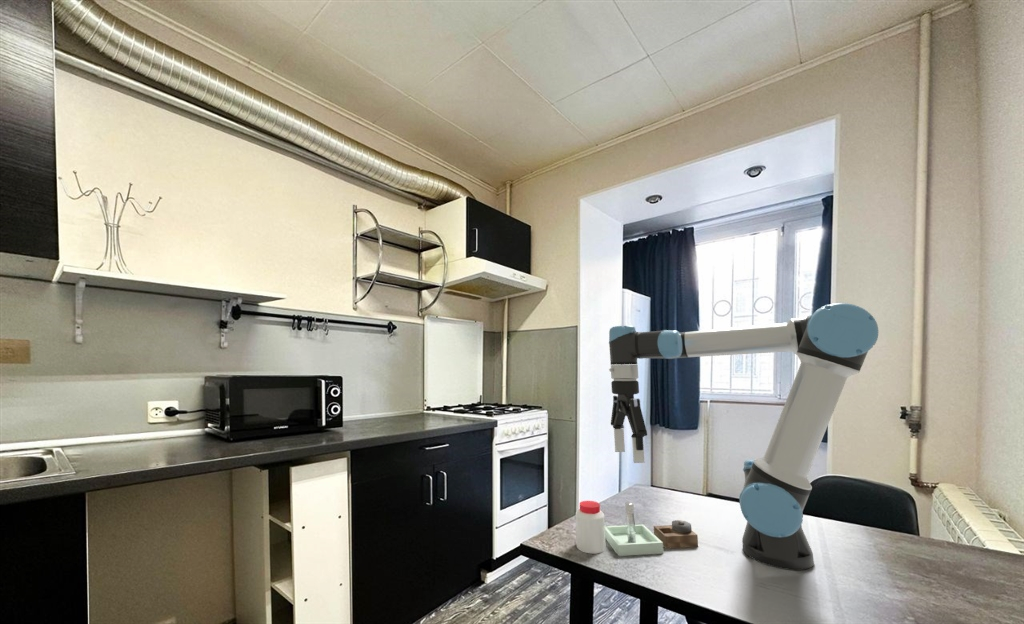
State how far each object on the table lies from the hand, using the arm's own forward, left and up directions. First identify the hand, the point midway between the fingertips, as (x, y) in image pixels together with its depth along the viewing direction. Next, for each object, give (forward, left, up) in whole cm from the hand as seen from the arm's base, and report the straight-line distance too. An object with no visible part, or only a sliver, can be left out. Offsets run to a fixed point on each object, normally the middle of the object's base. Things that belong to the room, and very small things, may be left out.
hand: (628, 457), depth 112 cm
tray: (0, 0, -23) cm, 23 cm away
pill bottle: (+10, +6, -23) cm, 26 cm away
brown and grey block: (-10, -6, -23) cm, 26 cm away
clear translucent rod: (0, 0, -22) cm, 22 cm away
